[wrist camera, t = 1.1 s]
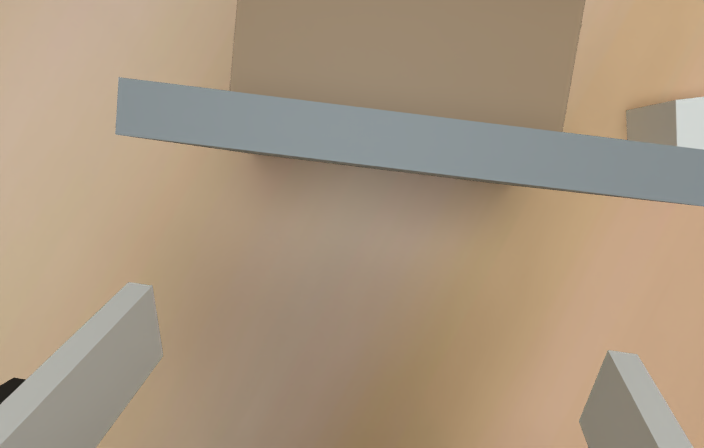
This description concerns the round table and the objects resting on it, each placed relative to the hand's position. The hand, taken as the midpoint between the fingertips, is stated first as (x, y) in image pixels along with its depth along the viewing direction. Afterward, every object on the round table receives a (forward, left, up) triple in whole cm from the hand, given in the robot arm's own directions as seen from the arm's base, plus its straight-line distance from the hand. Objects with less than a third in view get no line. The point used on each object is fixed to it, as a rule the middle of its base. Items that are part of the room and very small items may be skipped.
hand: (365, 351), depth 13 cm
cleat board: (+12, -1, -26) cm, 29 cm away
